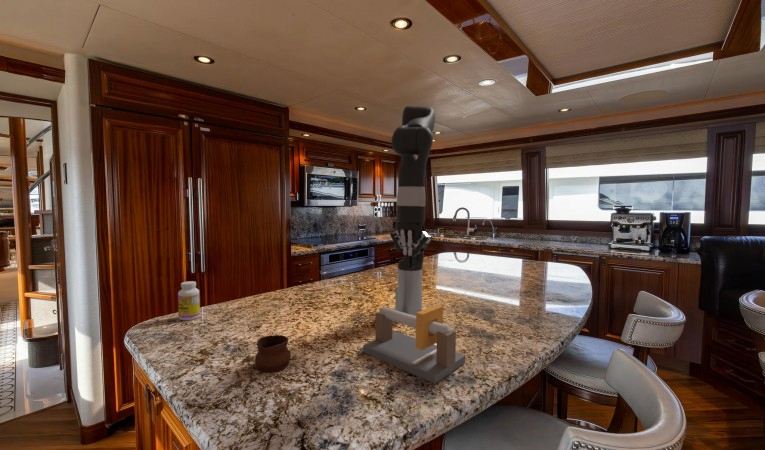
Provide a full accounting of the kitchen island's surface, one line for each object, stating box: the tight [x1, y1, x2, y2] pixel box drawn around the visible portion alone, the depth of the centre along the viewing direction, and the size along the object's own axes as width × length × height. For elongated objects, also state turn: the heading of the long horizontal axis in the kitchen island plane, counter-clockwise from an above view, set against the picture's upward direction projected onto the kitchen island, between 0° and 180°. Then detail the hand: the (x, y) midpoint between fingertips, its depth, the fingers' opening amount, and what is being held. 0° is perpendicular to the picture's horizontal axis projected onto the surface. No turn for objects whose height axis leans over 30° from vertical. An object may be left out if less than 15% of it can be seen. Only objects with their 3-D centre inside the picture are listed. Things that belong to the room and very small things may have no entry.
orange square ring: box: [415, 304, 444, 350], centre depth 86 cm, size 2×9×9 cm, turn 137°
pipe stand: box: [362, 306, 466, 385], centre depth 90 cm, size 24×14×12 cm, turn 47°
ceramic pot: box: [234, 334, 292, 382], centre depth 85 cm, size 18×18×7 cm
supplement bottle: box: [177, 280, 201, 321], centre depth 119 cm, size 7×7×13 cm
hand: (410, 269), depth 89 cm, fingers closed
